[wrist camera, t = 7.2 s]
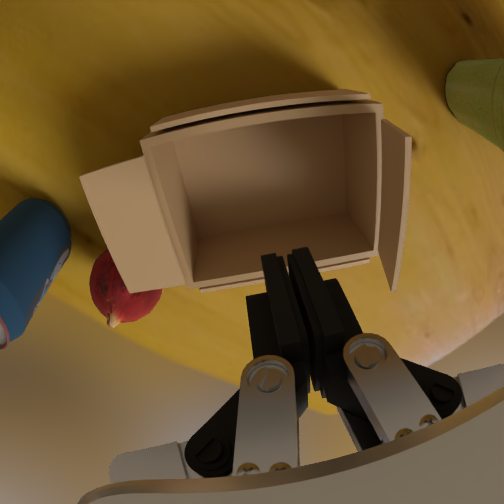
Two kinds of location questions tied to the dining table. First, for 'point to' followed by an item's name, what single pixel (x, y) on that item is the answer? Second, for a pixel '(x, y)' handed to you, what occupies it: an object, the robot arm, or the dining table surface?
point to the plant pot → (478, 97)
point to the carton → (269, 183)
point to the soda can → (29, 261)
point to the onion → (118, 294)
